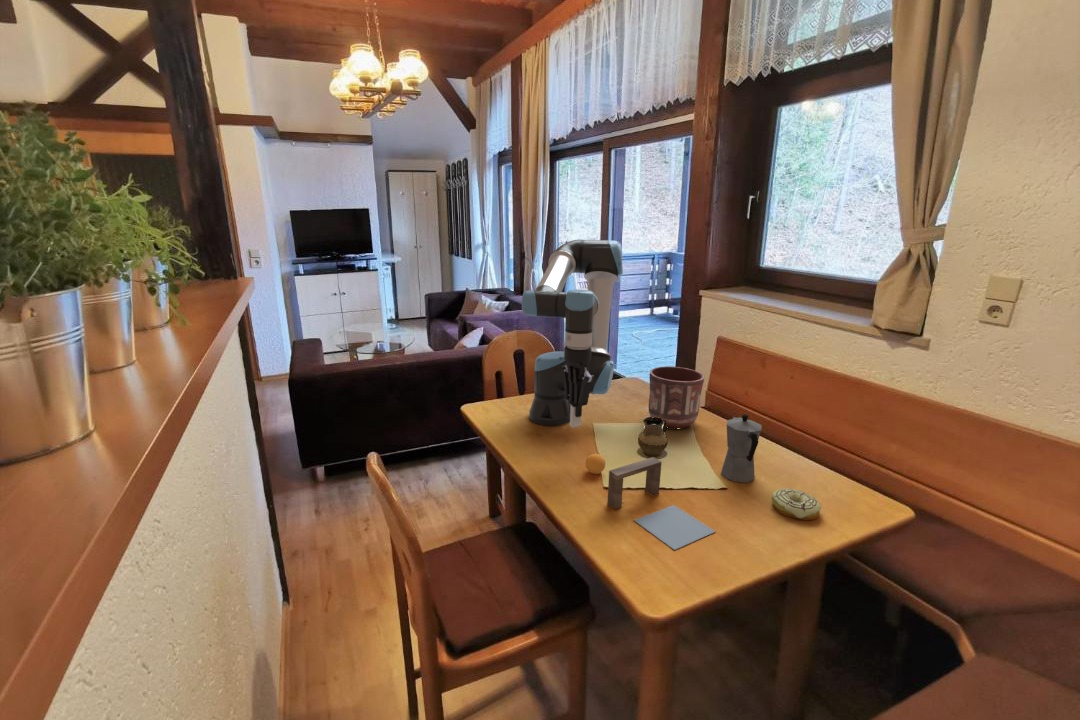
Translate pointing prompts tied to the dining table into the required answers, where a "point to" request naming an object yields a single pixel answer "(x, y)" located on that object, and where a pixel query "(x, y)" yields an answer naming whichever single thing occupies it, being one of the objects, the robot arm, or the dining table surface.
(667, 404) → the pottery
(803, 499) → the decorated donut
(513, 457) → the dining table surface
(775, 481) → the dining table surface
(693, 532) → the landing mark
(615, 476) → the bridge
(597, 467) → the ball
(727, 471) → the coffeepot
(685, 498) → the dining table surface
